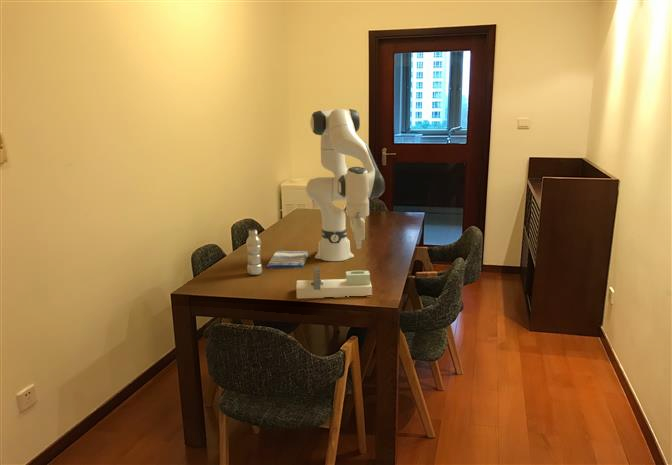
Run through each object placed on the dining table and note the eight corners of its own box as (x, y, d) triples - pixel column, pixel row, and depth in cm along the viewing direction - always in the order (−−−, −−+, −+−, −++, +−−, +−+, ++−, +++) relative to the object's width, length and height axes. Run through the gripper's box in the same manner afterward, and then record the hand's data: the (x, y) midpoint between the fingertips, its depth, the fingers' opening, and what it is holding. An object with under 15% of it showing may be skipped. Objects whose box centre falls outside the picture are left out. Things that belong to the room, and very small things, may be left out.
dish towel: (309, 255, 267) (309, 250, 266) (303, 269, 244) (303, 263, 243) (274, 255, 268) (274, 249, 267) (265, 269, 245) (265, 263, 244)
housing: (297, 289, 216) (296, 280, 215) (369, 287, 217) (369, 278, 216) (296, 298, 206) (296, 288, 205) (371, 296, 207) (371, 286, 206)
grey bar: (313, 291, 201) (312, 282, 200) (313, 275, 220) (313, 266, 219) (321, 291, 201) (320, 282, 200) (320, 274, 220) (320, 266, 219)
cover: (346, 280, 213) (345, 269, 212) (368, 280, 214) (368, 268, 213) (346, 285, 208) (346, 273, 207) (369, 284, 209) (369, 272, 208)
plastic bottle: (255, 271, 241) (253, 227, 236) (265, 273, 237) (263, 229, 232) (244, 274, 236) (241, 230, 231) (254, 277, 232) (252, 232, 227)
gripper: (368, 215, 194) (368, 252, 198) (363, 205, 214) (363, 238, 218) (351, 216, 194) (351, 253, 197) (347, 205, 214) (347, 239, 217)
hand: (357, 245), depth 208 cm, fingers open, 7 cm apart
